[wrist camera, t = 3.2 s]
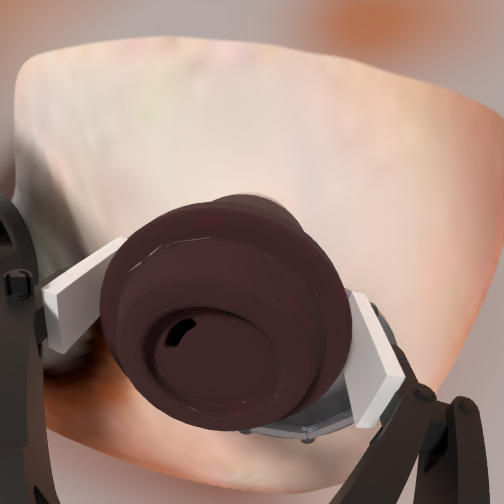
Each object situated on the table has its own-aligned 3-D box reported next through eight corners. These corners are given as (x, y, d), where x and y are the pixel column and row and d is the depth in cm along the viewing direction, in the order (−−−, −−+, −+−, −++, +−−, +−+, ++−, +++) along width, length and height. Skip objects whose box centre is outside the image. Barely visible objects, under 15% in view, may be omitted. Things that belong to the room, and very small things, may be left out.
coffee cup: (328, 283, 25) (371, 434, 10) (210, 309, 26) (151, 456, 12) (297, 157, 22) (330, 175, 8) (169, 195, 23) (36, 267, 9)
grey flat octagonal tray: (193, 411, 31) (188, 426, 28) (219, 258, 25) (214, 269, 23) (350, 437, 30) (353, 451, 28) (424, 304, 24) (434, 316, 22)
